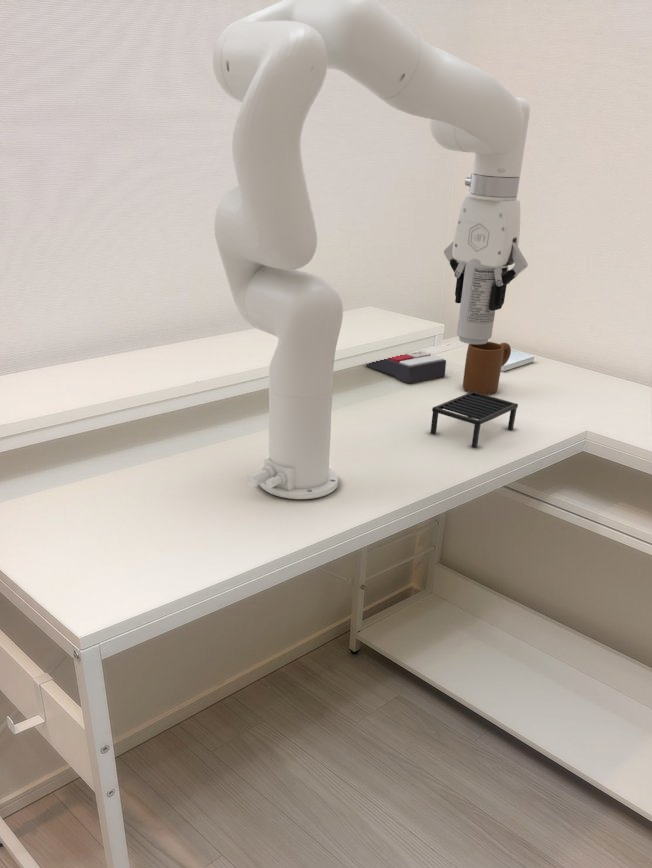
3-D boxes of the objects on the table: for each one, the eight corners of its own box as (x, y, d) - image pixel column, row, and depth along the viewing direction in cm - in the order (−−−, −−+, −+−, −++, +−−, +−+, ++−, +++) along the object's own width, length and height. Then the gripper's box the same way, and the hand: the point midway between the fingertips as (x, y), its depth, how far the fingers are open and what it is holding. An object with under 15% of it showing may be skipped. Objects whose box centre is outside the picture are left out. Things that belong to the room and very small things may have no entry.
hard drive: (506, 348, 196) (476, 356, 189) (534, 355, 192) (505, 364, 184) (505, 355, 197) (475, 363, 190) (533, 362, 193) (504, 371, 185)
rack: (475, 448, 144) (479, 421, 142) (429, 433, 149) (432, 407, 147) (513, 429, 154) (518, 403, 151) (469, 415, 159) (473, 391, 156)
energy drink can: (485, 336, 143) (498, 245, 135) (494, 345, 138) (508, 252, 130) (452, 335, 142) (463, 244, 134) (460, 345, 137) (473, 251, 129)
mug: (491, 378, 180) (497, 336, 175) (517, 388, 175) (525, 344, 170) (454, 387, 173) (460, 343, 168) (481, 397, 168) (488, 352, 163)
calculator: (402, 343, 187) (447, 356, 177) (401, 362, 190) (445, 376, 179) (366, 349, 182) (410, 363, 171) (365, 368, 184) (408, 383, 174)
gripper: (436, 183, 129) (424, 299, 139) (531, 195, 120) (511, 319, 130) (461, 181, 134) (448, 293, 144) (554, 193, 125) (533, 312, 135)
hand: (478, 304), depth 137 cm, fingers closed on energy drink can, 6 cm apart
